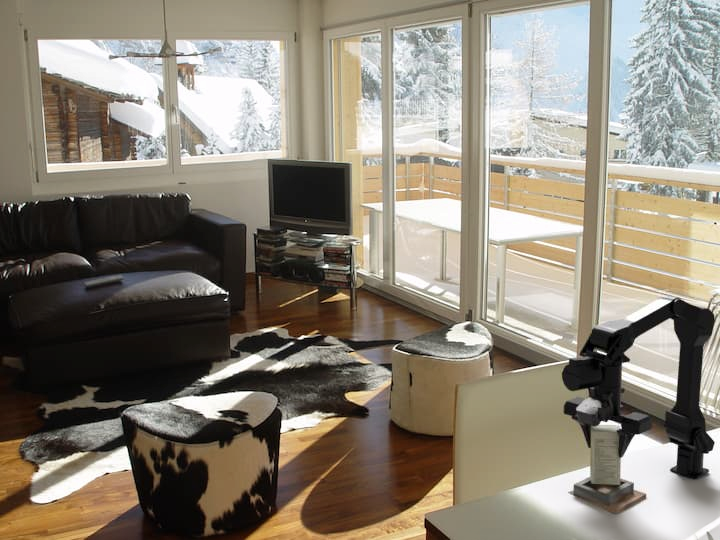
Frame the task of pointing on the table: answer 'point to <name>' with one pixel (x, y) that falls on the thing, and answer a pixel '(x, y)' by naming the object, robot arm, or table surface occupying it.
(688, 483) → the table surface
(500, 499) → the table surface
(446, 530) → the table surface
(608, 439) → the skincare box
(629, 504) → the holder
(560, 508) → the table surface
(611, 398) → the robot arm
